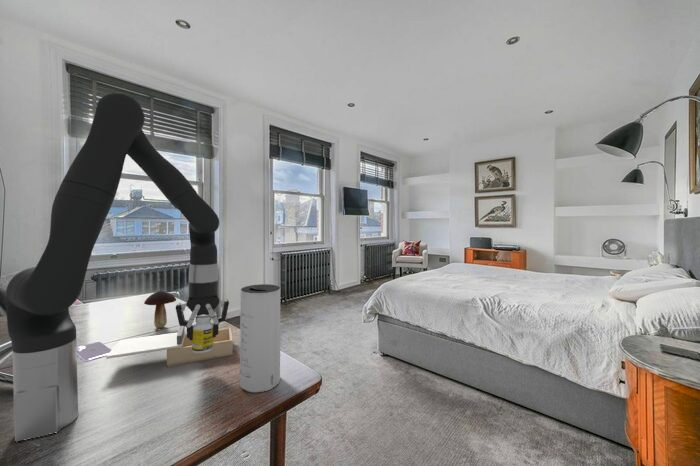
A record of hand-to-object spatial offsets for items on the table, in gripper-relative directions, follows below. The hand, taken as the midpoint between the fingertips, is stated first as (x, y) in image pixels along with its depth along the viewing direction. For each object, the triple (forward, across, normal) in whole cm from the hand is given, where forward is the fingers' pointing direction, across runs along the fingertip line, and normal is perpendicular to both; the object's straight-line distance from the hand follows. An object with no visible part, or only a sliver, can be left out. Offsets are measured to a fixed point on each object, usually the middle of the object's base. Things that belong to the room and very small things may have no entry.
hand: (203, 337), depth 83 cm
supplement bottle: (+4, 0, 0) cm, 4 cm away
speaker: (+10, +14, -13) cm, 22 cm away
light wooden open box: (+9, -1, +13) cm, 16 cm away
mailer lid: (+4, -15, +12) cm, 20 cm away
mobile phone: (+10, -34, +28) cm, 45 cm away
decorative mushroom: (+9, -17, +44) cm, 49 cm away
